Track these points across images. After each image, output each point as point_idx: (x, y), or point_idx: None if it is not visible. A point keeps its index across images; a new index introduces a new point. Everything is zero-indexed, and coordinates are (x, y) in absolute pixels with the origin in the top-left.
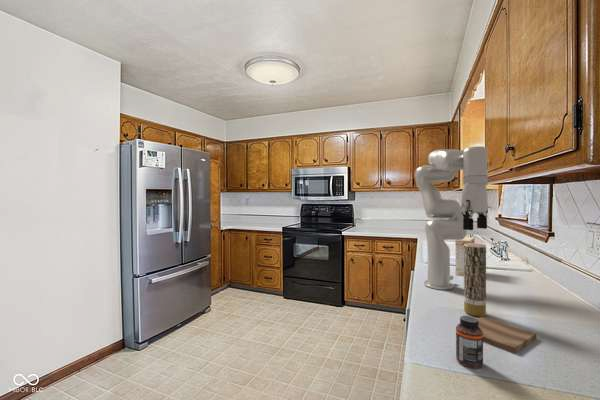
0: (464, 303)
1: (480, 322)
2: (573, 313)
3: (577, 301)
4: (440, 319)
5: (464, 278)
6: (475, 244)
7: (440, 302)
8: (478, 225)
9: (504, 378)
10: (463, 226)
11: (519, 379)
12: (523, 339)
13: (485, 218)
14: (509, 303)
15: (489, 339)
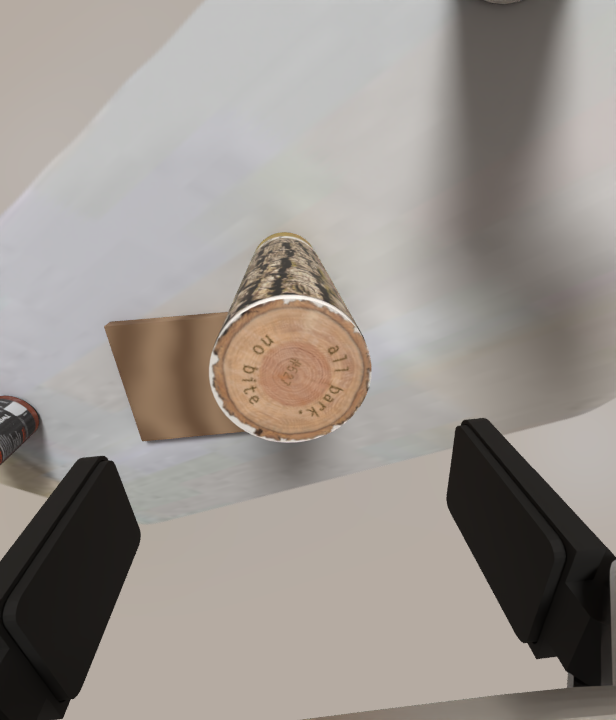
0: (259, 246)
1: (198, 337)
2: (524, 398)
3: None
4: (128, 237)
5: (251, 265)
6: (296, 379)
7: (274, 115)
8: (471, 458)
9: (41, 464)
10: (63, 484)
11: None
12: (203, 431)
13: (522, 639)
14: (486, 272)
15: (128, 397)
